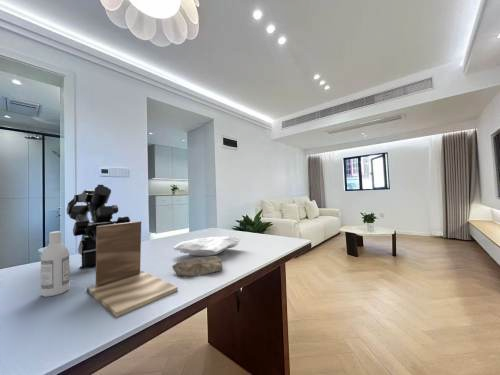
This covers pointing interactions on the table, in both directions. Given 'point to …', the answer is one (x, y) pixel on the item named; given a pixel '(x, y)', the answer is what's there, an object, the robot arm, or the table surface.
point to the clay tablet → (198, 266)
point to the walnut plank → (117, 251)
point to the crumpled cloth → (207, 245)
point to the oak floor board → (131, 292)
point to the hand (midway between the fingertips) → (109, 241)
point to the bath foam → (54, 267)
